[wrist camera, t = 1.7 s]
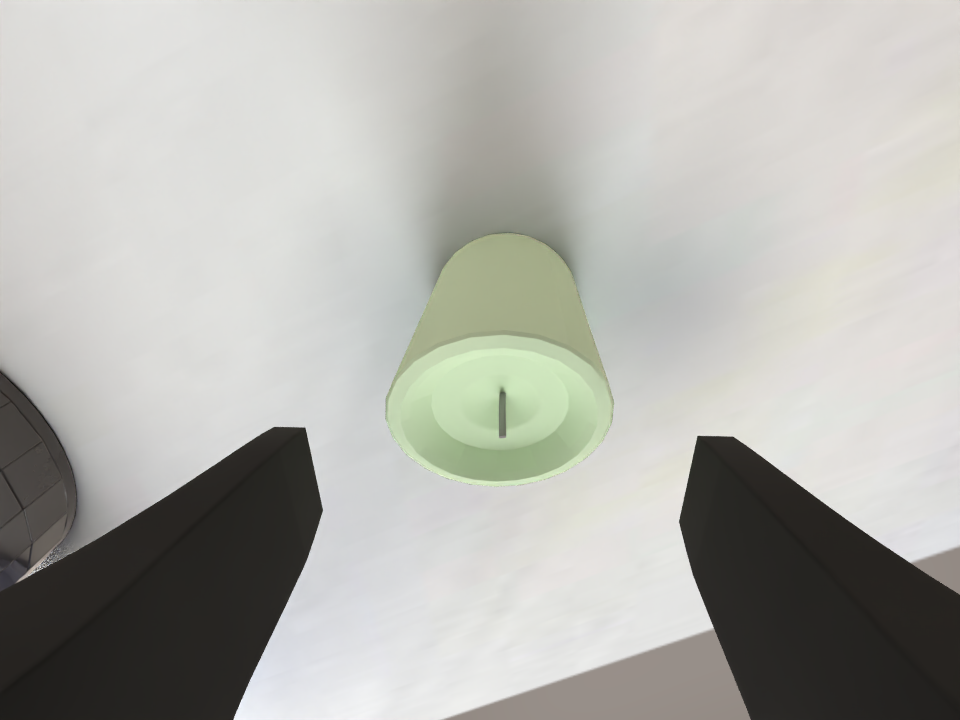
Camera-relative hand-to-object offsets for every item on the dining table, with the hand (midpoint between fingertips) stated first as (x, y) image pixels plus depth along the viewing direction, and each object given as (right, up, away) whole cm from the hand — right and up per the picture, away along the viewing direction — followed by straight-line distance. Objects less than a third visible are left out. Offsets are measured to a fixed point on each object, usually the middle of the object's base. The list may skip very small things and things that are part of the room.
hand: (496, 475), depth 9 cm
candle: (+1, +4, +8) cm, 10 cm away
